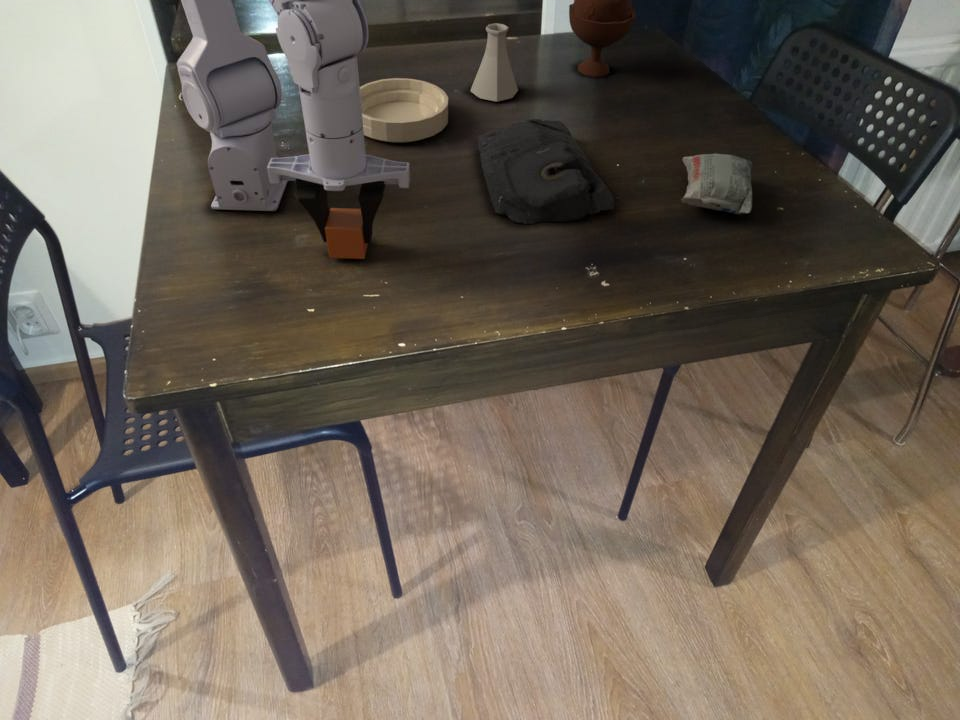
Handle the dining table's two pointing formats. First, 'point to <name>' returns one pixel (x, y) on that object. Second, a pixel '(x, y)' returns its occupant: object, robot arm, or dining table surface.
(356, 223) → the block
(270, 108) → the robot arm
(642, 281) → the dining table surface
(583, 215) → the dark slate chunk
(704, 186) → the packaged food
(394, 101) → the bowl
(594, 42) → the ice cream bowl
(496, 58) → the flask
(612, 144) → the dining table surface
